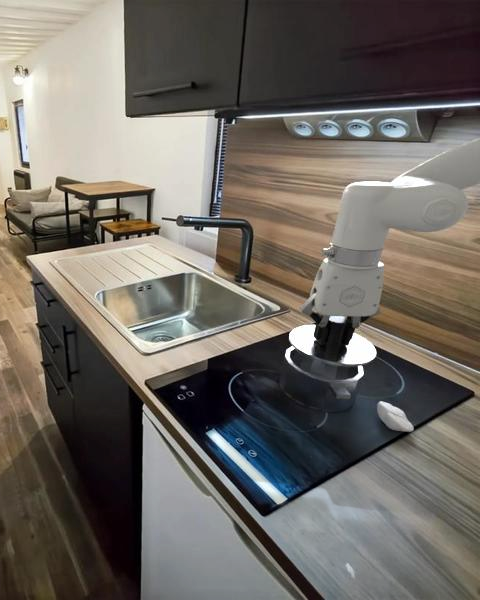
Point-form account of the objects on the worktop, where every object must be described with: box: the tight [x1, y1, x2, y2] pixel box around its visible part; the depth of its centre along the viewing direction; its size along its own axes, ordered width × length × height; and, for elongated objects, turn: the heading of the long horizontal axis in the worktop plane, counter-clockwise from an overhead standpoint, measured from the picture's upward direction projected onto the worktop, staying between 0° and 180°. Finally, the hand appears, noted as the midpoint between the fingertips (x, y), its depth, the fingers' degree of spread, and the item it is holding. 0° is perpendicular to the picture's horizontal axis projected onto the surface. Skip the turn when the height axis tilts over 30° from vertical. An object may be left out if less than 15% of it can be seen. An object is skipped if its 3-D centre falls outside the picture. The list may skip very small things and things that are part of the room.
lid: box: [288, 316, 377, 367], centre depth 72 cm, size 15×15×7 cm
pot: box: [278, 345, 365, 414], centre depth 77 cm, size 14×19×8 cm
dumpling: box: [376, 400, 415, 433], centre depth 68 cm, size 7×5×4 cm
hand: (331, 341), depth 73 cm, fingers closed on lid, 3 cm apart
